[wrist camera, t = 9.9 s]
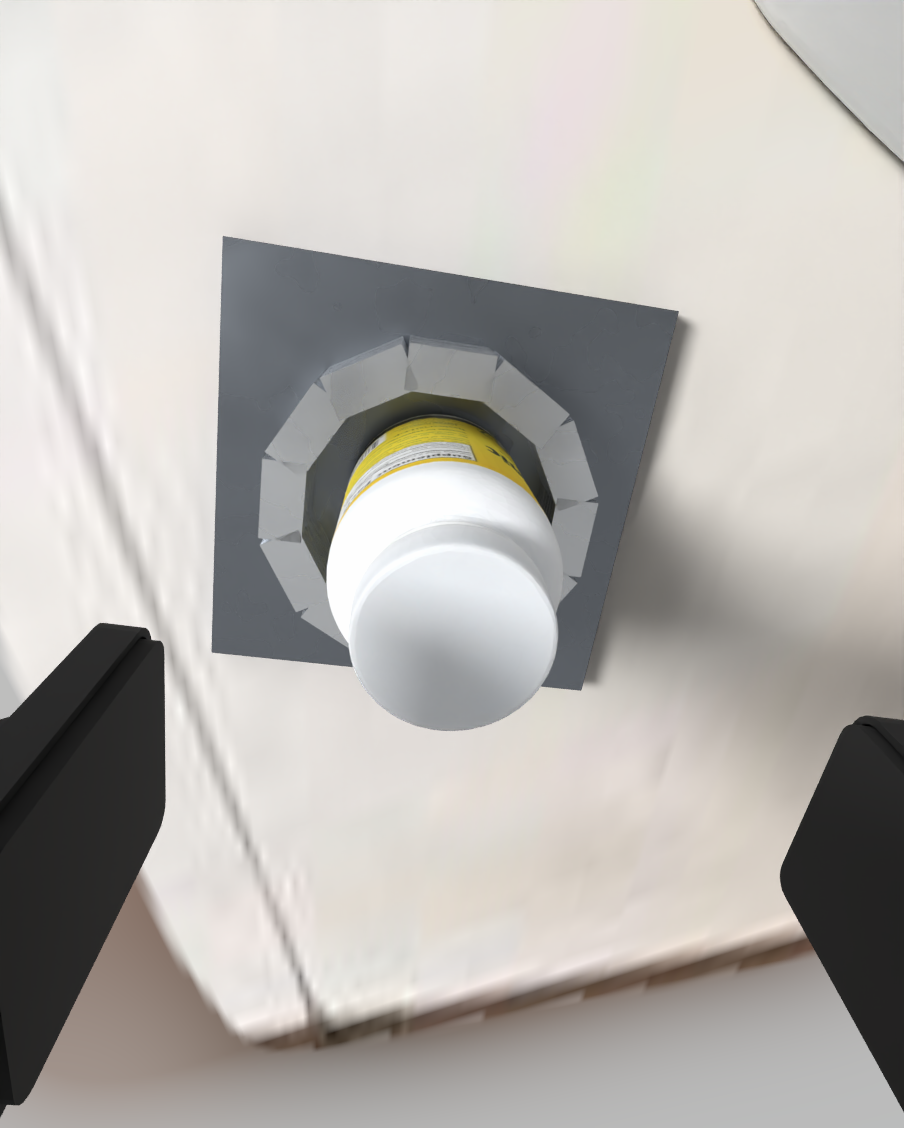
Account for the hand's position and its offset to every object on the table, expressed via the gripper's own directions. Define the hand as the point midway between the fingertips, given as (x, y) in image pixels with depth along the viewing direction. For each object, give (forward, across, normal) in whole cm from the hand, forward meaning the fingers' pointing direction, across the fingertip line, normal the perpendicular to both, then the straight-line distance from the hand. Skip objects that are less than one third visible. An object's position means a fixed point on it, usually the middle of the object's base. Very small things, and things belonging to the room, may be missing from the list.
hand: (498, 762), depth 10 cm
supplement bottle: (+14, +1, +1) cm, 14 cm away
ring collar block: (+14, +1, +1) cm, 15 cm away
